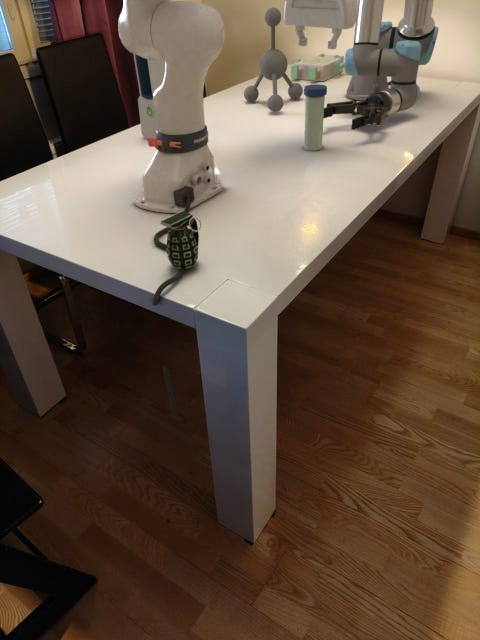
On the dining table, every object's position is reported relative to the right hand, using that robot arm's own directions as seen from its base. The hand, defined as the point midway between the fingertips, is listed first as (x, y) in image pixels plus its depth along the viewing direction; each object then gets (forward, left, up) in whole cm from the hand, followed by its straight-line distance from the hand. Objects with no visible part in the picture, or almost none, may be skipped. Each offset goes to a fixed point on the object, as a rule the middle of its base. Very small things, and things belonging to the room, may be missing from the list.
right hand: (334, 119), depth 139 cm
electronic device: (+13, -51, -6) cm, 53 cm away
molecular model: (-34, -32, -6) cm, 47 cm away
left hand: (+7, -4, +19) cm, 21 cm away
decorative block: (-81, -33, -6) cm, 87 cm away
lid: (+7, -4, +10) cm, 12 cm away
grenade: (+76, -4, -6) cm, 77 cm away
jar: (+7, -4, -6) cm, 10 cm away
